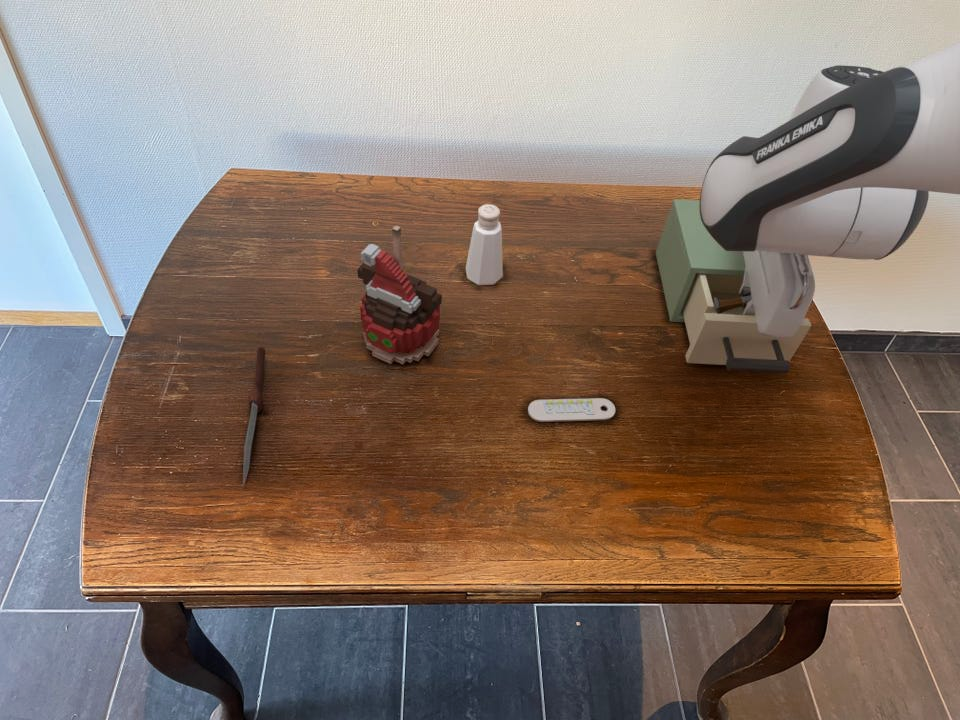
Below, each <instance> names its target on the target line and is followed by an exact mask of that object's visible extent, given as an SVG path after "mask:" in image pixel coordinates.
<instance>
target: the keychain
mask: <svg viewBox="0 0 960 720" xmlns="http://www.w3.org/2000/svg"><path fill="white" fill-rule="evenodd" d="M603 407H604V408H606V410H602V408H603ZM527 414H528V416H529V417H530V418H531V419H532V420H533V421H536V422H538V423H553V422H555V423H556V422H586V421H608V420H611V419H612V418H613V417H614V416H615V414H616V407H615V404H614V403H613V402H612V401H610V400H609V399H607V398H603V397H596V398H594V397H591V398H590V397H589V398H556V399H555V398H550V399H535V400H533V401H531V402H530V403H529V405H528V407H527Z"/></svg>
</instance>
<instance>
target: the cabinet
mask: <svg viewBox="0 0 960 720" xmlns="http://www.w3.org/2000/svg"><path fill="white" fill-rule="evenodd" d="M672 200H673V201H672V203H671V206H670V209H669V212H668V215H667V217H666V221H665V224H664V227H663V230H662V233H661V235H660V239H659V242H658V245H657V248H656V251H655V257H656V261H657V265H658V266H657V267H658V271H659V275H660V279H661V285H662V290H663V294H664V299H665V303H666V308H667V313H668V317H669V321H670V322H671V323H685V320H684V316H683V312H682V307H683V305H684V302H685V300H686V297H687V295H688V292H689V290H690V287H691V285H692V282H693V280H694V277H695V275H696V273H703V274H721V275H738V276H744V272H745V267H746V265H745V260H744V255H743V251H726V250H724V249H723V248H722V247H721V246H720V245H719V244H718V243H717V242H716V241H715V240H714V239H713V237H712V236H711V235H710V234H709V232H708V231H707V230H706V228H705V227H704V225H703V223H702V221H701V217H700V199H699V200H697V199H682V198H681V199H680V198H673V199H672Z"/></svg>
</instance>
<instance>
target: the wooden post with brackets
mask: <svg viewBox="0 0 960 720" xmlns="http://www.w3.org/2000/svg"><path fill="white" fill-rule="evenodd" d="M746 299H748V300H752V297H751V295H749V296H745V297H741V298H740V299H734V300H717V298H714V301H715V307H716V313H717V314H720V313H723V312H725V311H728V310H731V309H734V308H738V307H742V306H743V305H744V302H745V300H746Z"/></svg>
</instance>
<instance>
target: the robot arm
mask: <svg viewBox="0 0 960 720" xmlns="http://www.w3.org/2000/svg"><path fill="white" fill-rule="evenodd" d="M702 181H703V182H702V185H701V190H700V196H699V200H700V217H701V221H702V223H703V225H704V227H705V228H706V230H707V231H708V232H709V234H710V235H711V236H712V237H713V239H714V240H715V241H716V242H717V243H718V244H719V245H720V246H721V247H722V248H723V249H724V250H726V251H743V255H744V260H745V265H746V267H745V272H744V278H743V284H742V286H741V288H740V291H739V294H740V298H741V297H745V296H749V295H751V297H752V300H748V299H746V300H745V302H744V305H743V307H742V309H743V315H751V316H756V321H757V326H758V331H759V333H760V334H761V335H764V336H770V337H776V338H790V337H793V336H794V335H795V334H796V332H797V331H798V329H799V327H800V325H801V323H802V321H803V319H804V318H806V314H807V312H808V311H809V308H810V306H811V304H812V301H813V299H814V295H815V291H816V279H815V275H814V272H813V268H812V265H811V262H810V261H811V260H810V258H809V256H812V257H813V256H814V257H825V258H836V259H847V260H848V259H849V260H862V261H863V260H864V261H865V260H867V261H868V260H874V261H878V260H883V259H884V258H887V257H889V256H890V255H892V254H893V253H895V252H896V251H898V250H899V249H900V248H901V247H902V246H903V245H905V243H906V242H907V241H908V239H909V238H910V237H911V236H912V234H914V232H915V231H916V229H917V227H918V226H919V224H920V222H921V221H922V218H923V217H924V214H925V212H926V210H927V206H928V202H929V194H930V193H929V192H933V193H939V194H940V193H941V194H942V193H943V194H949V195H950V194H951V195H960V41H958V42H956V43H954V44H952V45H949V46H946V47H944V48H942V49H940V50H937V51H935V52H932V53H930V54H928V55H924V56H923V57H922V56H921V57H920V58H918V59H914V60H912V61H910V62H907V63H905V64H903V65H901V66H899V67H894V68H891V69H888V70H886V71H882V70H877V69H874V68H871V67H865V66H859V65H843V64H842V65H839V64H838V65H832V66H829V67H825V68H823V69H821V70H819V71H818V72H817V73H816V74H815V76H814V77H813V78H812V80H811V81H810V82H809V83H808V85H807V87H806V88H805V90H804V91H803V93H802V95H801V96H800V98H799V99H798V102H797V103H796V105H795V107H794V109H793V110H792V113H791V114H790V116H789V119H788V120H787V121H786V122H785V123H783V124H781V125H779V126H777V127H776V128H774V129H772V130H771V131H769V132H767V133H766V134H764V135H762V136H760V137H753V136H748V135H743V136H741V137H739V138H737V139H736V140H735V141H733V142H732V143H730V144H729V145H728V146H726V147H725V148H724V149H723V150H722V151H721V152H720V153H718V154H717V155H716V156H715V157H714V158H713V160H712V161H711V162H710V165H709V167H708V168H707V171H706V173H705V175H704V178H703V180H702Z"/></svg>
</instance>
